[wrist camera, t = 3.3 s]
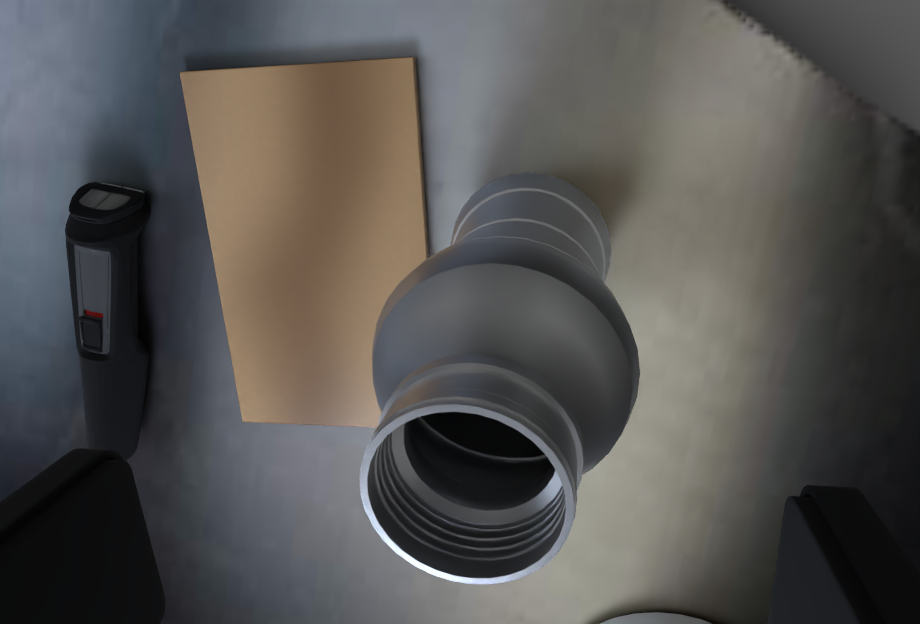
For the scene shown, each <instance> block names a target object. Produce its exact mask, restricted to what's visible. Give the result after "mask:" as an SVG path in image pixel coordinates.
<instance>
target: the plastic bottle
mask: <svg viewBox="0 0 920 624" xmlns="http://www.w3.org/2000/svg"><path fill="white" fill-rule="evenodd" d="M610 256H611V244H610V235H609V232H608V229H607V226H606V223H605V220H604V218H603V217H602V215H601V213H600V211H599V210H598V208H597V206H596V205H595V204H594V203H593V202H592V201H591V200H590V198H589V197H588V196H587V195H586V194H584V193H583V192H582V191H581V190H579V189H578V188H577V187H575V186H574V185H572V184H570V183H568V182H566V181H564V180H562V179H560V178H557V177H553V176H550V175H546V174H540V173H519V174H511V175H508V176H505V177H502V178H499V179H496V180H494V181H492V182H490V183H489V184H487V185H485V186H483V187H482V188H481V189H479V190H478V191H477V192H476V193H475V194H474V195H473V196H472V197H470V199H469V200H468V201H467V203H466V204H465V205H464V207H463V208H462V210H461V212H460V214H459V216H458V218H457V220H456V223H455V227H454V231H453V236H452V241H451V246H450V247H448V248H446V249H444V250H442V251H440V252H438V253H437V254H435V255H433V256H431V257H429V258H428V259H426V260H425V261H424V262H423V263H422V264H420V265H419V266H418V267H417V268H416V269H414V270H413V271H412V272H411V273H410V274H409V275H407V276H406V277H405V278H404V279H403V280H402V281H401V282H400V283H399V284H398V285H397V287H396V288H395V290H394V291H393V292H392V294H391V295H390V296H389V298H388V299H387V300H386V302H385V305H384V307H383V309H382V311H381V314H380V316H379V318H378V320H377V324H376V329H375V334H374V340H373V349H372V371H373V385H374V389H375V393H376V398H377V402H378V405H379V407H380V409H381V411H382V414H381V416H380V418H379V423H378V428H377V429H376V431H375V432H374V434H373V435H372V437H371V440H370V442H369V444H368V446H367V448H366V450H365V453H364V458H363V461H362V466H361V471H360V493H361V497H362V501H363V505H364V509H365V511H366V513H367V515H368V517H369V519H370V521H371V523H372V525H373V527H374V528H375V530H376V531H377V532H378V534H379V535H380V536H381V538H382V539H383V540H384V541H385V542H386V543H387V544H388V545H389V546H390V547H391V548H392V549H393V550H394V551H395V552H396V553H397V554H398V555H400V556H401V557H402V558H404V559H405V560H407V561H408V562H410V563H411V564H413V565H414V566H416V567H418V568H420V569H422V570H424V571H426V572H428V573H430V574H432V575H435V576H438V577H441V578H445V579H448V580H451V581H456V582H462V583H468V584H496V583H502V582H508V581H512V580H515V579H518V578H521V577H524V576H527V575H529V574H531V573H533V572H534V571H536V570H538V569H539V568H541V567H543V566H544V565H545V564H547V563H548V562H549V561H550V560H551V559H552V558H553V557H554V556H555V555H556V554H557V553H558V552H559V550H560V549H561V547H562V546H563V544H564V543H565V541H566V540H567V537H568V535H569V532H570V529H571V526H572V524H573V520H574V518H575V512H576V502H577V489H578V487H579V484H580V481H581V478H582V475H583V474H585V473H586V472H588V471H589V470H591V469H593V468H594V467H595V466H596V465H597V464H598V463H599V462H600V461H601V460H602V459H603V458H604V457H605V456H606V455H607V454H608V453H609V452H610V451H611V449H612V448H613V446H614V445H615V443H616V442H617V440H618V439H619V437H620V436H621V434H622V432H623V430H624V428H625V426H626V424H627V422H628V419H629V417H630V414H631V412H632V409H633V406H634V404H635V401H636V398H637V393H638V385H639V377H640V369H639V359H638V349H637V346H636V343H635V340H634V337H633V334H632V331H631V328H630V325H629V323H628V321H627V319H626V317H625V314H624V312H623V311H622V309H621V307H620V305H619V304H618V302H617V300H616V299H615V297H614V295H613V294H612V292H611V291H610V290H609V289H608V287H607V286H606V285H605V284H604V282H605V278H606V275H607V272H608V269H609V265H610Z"/></svg>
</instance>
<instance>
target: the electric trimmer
mask: <svg viewBox="0 0 920 624" xmlns="http://www.w3.org/2000/svg"><path fill="white" fill-rule="evenodd" d="M108 184H109V183H107V184H106V183H104V182H102V183H96V182H94V183H88V184H86V185H83V186H82V187H80V188H79V189H78V190H77V191H76V193H75V194H74V195H73V197H72V199H71V202H70V205H69V212H70V215H69V218H68V220H67V223H66V228H65V232H66V248H67V258H68V268H69V278H70V288H71V297H72V307H73V317H74V327H75V335H76V344H77V349H78V353H79V357H80V363H81V374H82V386H83V397H84V408H85V419H86V430H87V441H88V449H102V450H114V451H116V452H118V453H119V454H120V455H121V456H122V458H123V460H124V461H126V460H128V459H129V458H130V457H132V455H133V454H134V453H135V451H136V449H137V445H138V439H139V432H140V425H141V418H142V411H143V404H144V397H145V389H146V382H147V373H148V364H149V352H148V351H147V350H146V348H145V347H144V345H143V344H142V342H141V341H140V339H139V338H138V337H137V236H138V235H139V233H140V231H141V230H142V228H143V227H144V225H145V223H146V222H147V220H148V218H149V216H150V209H151V208H150V206H149V205H147V204H145V198H144V192H142V191H141V190H139V191H138V190H136V189H135V190H134V189H132V188H131V189H130V188H128V187H126V188H125V187H121V186H117V185H116V186H115V185H113V184H112V185H111V184H109V185H108Z"/></svg>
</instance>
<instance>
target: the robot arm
mask: <svg viewBox="0 0 920 624" xmlns="http://www.w3.org/2000/svg"><path fill="white" fill-rule="evenodd" d="M164 611H165V596H164V592H163V588H162V584H161V581H160V577H159V573H158V569H157V565H156V561H155V558H154V554H153V550H152V546H151V542H150V538H149V534H148V531H147V527H146V523H145V519H144V515H143V511H142V508H141V504H140V500H139V496H138V492H137V488H136V484H135V481H134V477H133V473H132V469H131V467H130V465H129V464H128V463H127V462H126V461H124V460H123V458H122V456H121V455H120V454H119V453H118V452H116V451H114V450H102V449H83V448H81V449H74V450H72V451H71V452H69V453H67V454H66V455H64V456H63V457H62V458H60V459H59V460H58V461H56V462H55V463H54V464H52V465H51V466H49V467H48V468H47V469H45V470H44V471H43V472H41V473H40V474H39V475H37V476H36V477H35V478H33V479H32V480H30V481H29V482H28V483H26V484H25V485H24V486H22V487H21V488H20V489H18V490H17V491H15V492H14V493H13V494H11V495H10V496H9V497H7V498H6V499H5V500H3V501H2V502H0V624H160V622H161V620H162V617H163V615H164ZM600 624H712V623H710V622H707V621H705V620H702V619H698V618H694V617H689V616H685V615H681V614H671V613H660V612H652V613H635V614H630V615H625V616H621V617H616V618H612V619H610V620H607V621H605V622H602V623H600ZM768 624H920V576H919V574H918V573H917V571H916V570H915V568H914V567H913V566H912V564H911V563H910V561H909V560H908V558H907V557H906V556H905V554H904V553H903V551H902V550H901V548H900V547H899V545H898V544H897V543H896V541H895V540H894V538H893V537H892V535H891V534H890V533H889V531H888V530H887V528H886V527H885V525H884V524H883V523H882V521H881V520H880V518H879V517H878V515H877V514H876V513H875V511H874V510H873V508H872V507H871V505H870V504H869V503H868V501H867V500H866V498H865V497H864V495H863V494H862V493H861V492H860V491H859V490H858V489H856V488H850V487H831V486H811V485H807V486H805V487H804V488H803V490H802V491H801V495H800V497H797V496H790V497H788V498H787V500H786V503H785V508H784V515H783V522H782V530H781V537H780V544H779V551H778V558H777V565H776V572H775V579H774V586H773V593H772V601H771V608H770V615H769V622H768Z"/></svg>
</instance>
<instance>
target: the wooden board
mask: <svg viewBox="0 0 920 624" xmlns="http://www.w3.org/2000/svg"><path fill="white" fill-rule="evenodd" d="M180 77H181V83H182V88H183V94H184V99H185V105H186V110H187V116H188V121H189V127H190V132H191V138H192V144H193V149H194V155H195V160H196V166H197V171H198V177H199V182H200V188H201V193H202V199H203V205H204V210H205V216H206V221H207V227H208V232H209V238H210V243H211V249H212V254H213V260H214V266H215V271H216V277H217V282H218V288H219V293H220V299H221V304H222V310H223V315H224V321H225V327H226V332H227V338H228V343H229V349H230V354H231V360H232V365H233V371H234V376H235V382H236V388H237V393H238V399H239V404H240V410H241V415H242V421H243V422H256V423H280V424H304V425H328V426H351V427H375V428H378V423H379V418H380V416H381V414H382V411H381V409H380V407H379V405H378V402H377V398H376V393H375V389H374V385H373V371H372V349H373V340H374V334H375V329H376V324H377V320H378V318H379V316H380V314H381V311H382V309H383V307H384V305H385V302H386V300H387V299H388V298H389V296H390V295H391V294H392V292H393V291H394V290H395V288H396V287H397V285H398V284H399V283H400V282H401V281H402V280H403V279H404V278H405V277H406V276H407V275H409V274H410V273H411V272H412V271H413V270H414V269H416V268H417V267H418V266H419V265H420V264H422V263H423V262H424V261H425V260H426V259H428V258H429V250H428V235H427V221H426V206H425V191H424V176H423V161H422V147H421V132H420V117H419V102H418V87H417V73H416V59H415V57H402V58H386V59H370V60H355V61H339V62H324V63H308V64H293V65H277V66H262V67H246V68H231V69H215V70H200V71H184V72H180Z"/></svg>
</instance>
